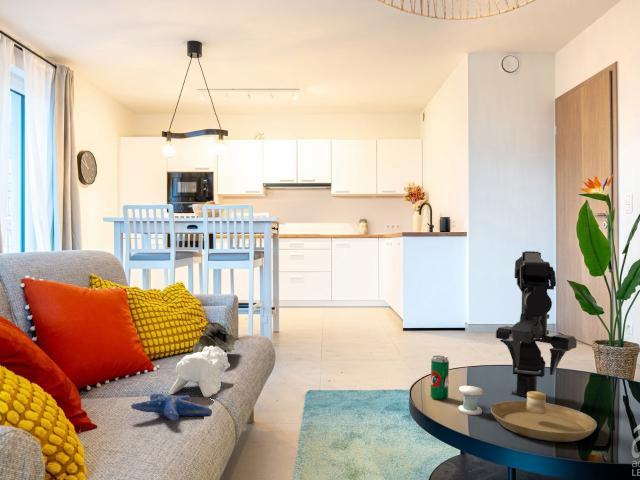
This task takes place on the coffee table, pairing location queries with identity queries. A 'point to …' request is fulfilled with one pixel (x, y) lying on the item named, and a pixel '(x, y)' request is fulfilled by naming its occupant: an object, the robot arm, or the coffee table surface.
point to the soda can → (439, 377)
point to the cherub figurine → (202, 370)
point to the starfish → (172, 406)
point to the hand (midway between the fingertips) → (533, 370)
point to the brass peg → (536, 402)
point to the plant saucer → (544, 421)
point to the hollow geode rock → (215, 338)
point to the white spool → (470, 400)
